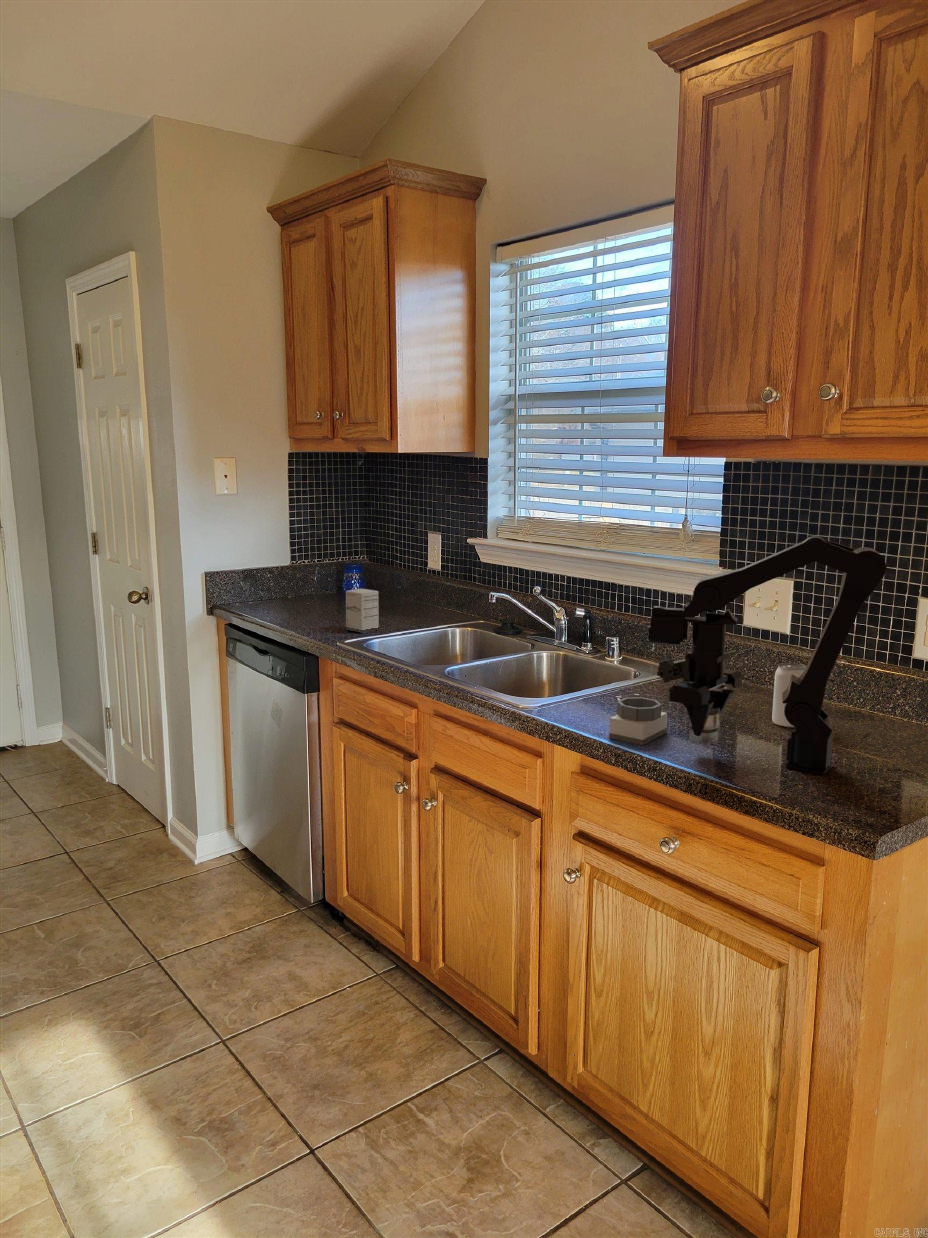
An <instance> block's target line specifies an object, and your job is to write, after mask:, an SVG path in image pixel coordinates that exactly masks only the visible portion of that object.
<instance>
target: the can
mask: <svg viewBox="0 0 928 1238" xmlns="http://www.w3.org/2000/svg"><path fill="white" fill-rule="evenodd" d="M807 666H808V665H805V664H801V663H798V662H797V663H795V662H782V663H778V664H777V669H776V670H775V673H774V685H773V696H772V697H773V700H772V716H771V717H772V719H771V721H772V722H773V723H774V725H776V726H779V727H782V726H783V727H784V728H792V729H793V728H794V729H795V726H793V725H791V724H790V723H789V722H788V721H787V719H786V717H785V714H784V704H783V703H782V694H783V692H784V691H785V690H786V689H787V687H788V685H789V681H790V677H791V674H793V675H795V676H796V677H798V678H799V677H800V676H801V674H802V673H803V672H804V671H805V669H806V668H807Z"/></svg>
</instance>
